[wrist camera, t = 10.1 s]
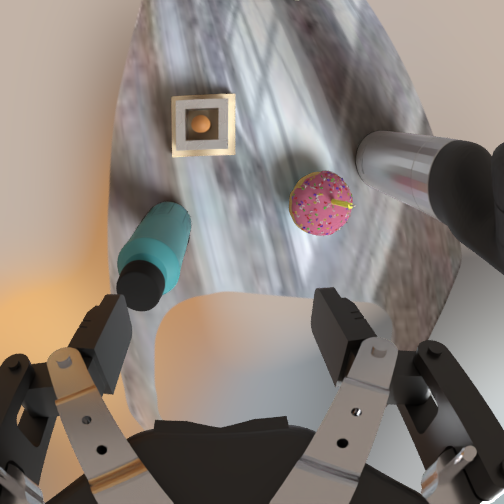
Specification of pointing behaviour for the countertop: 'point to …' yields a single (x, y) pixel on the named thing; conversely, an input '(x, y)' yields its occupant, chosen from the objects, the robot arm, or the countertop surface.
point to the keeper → (205, 125)
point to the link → (183, 124)
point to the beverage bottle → (153, 256)
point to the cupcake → (320, 203)
